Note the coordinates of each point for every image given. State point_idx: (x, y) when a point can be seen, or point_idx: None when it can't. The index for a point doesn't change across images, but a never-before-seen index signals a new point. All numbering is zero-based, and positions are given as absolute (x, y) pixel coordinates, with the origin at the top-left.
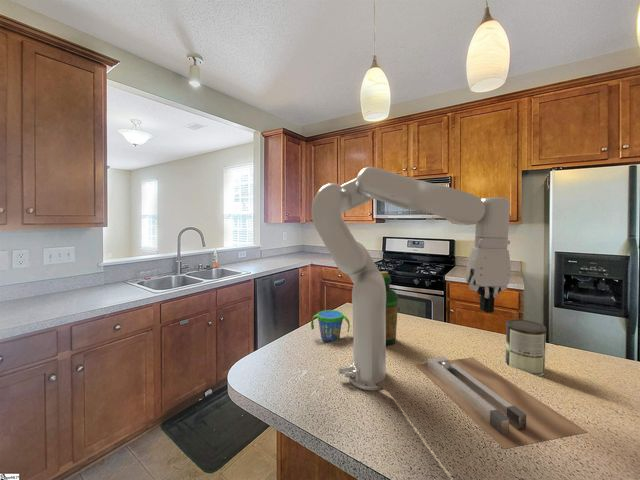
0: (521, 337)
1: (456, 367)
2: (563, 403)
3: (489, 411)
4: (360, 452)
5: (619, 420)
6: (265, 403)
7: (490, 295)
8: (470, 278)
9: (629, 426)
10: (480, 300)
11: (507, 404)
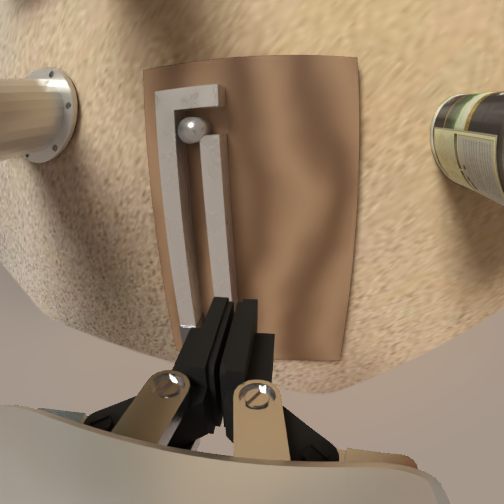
0: (491, 180)
1: (210, 158)
2: (407, 280)
3: (180, 323)
4: (24, 284)
5: (437, 333)
6: None
7: (226, 434)
8: (6, 441)
9: (433, 344)
10: (177, 360)
11: None
